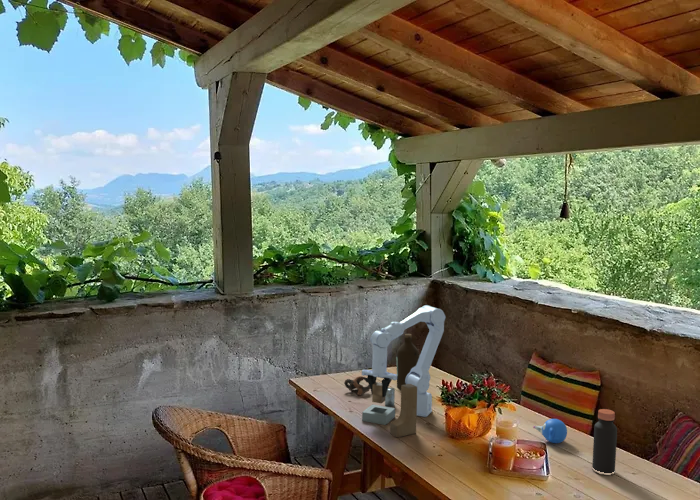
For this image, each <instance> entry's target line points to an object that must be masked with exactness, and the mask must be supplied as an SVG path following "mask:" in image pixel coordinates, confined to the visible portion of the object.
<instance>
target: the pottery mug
mask: <svg viewBox="0 0 700 500" xmlns="http://www.w3.org/2000/svg"><path fill="white" fill-rule="evenodd" d="M363 380H364V381H365V382H366V383H367V384H368V385H366V386H364V385H363V384H361V382H362V381H363ZM343 383H344V386H345V388H347V389H348V390H349V392H352V391H353V390H358V391H357V393H356V394H357V396H362V394H366V393H368V392H370V391H371V389H370V386H369V383H368V381H367V377H365V376H363V375H361V376H357V377H355V378H354V379H350V378H347V379H345V381H344V382H343Z"/></svg>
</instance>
